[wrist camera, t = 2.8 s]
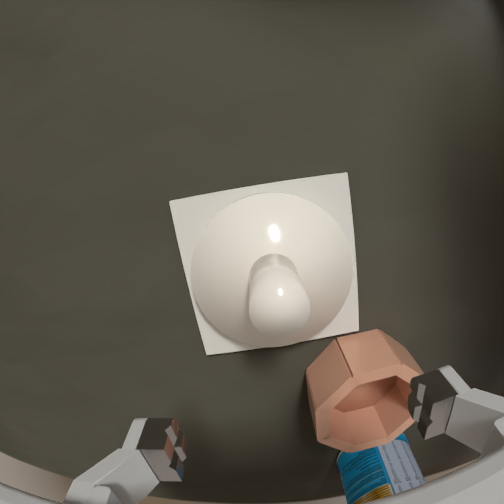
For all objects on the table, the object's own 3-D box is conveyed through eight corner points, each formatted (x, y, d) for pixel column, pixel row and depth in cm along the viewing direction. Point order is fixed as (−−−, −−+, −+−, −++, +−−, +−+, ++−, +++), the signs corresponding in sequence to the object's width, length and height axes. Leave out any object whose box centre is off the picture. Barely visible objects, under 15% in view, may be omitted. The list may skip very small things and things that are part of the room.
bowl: (302, 343, 25) (312, 383, 20) (407, 321, 24) (434, 353, 19) (310, 420, 27) (318, 459, 22) (399, 399, 27) (418, 433, 22)
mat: (170, 200, 21) (169, 201, 21) (345, 172, 21) (347, 172, 21) (207, 352, 25) (206, 355, 24) (357, 328, 24) (358, 330, 24)
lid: (177, 207, 21) (152, 225, 15) (341, 180, 21) (373, 189, 15) (211, 349, 24) (201, 399, 18) (352, 326, 24) (377, 371, 18)
